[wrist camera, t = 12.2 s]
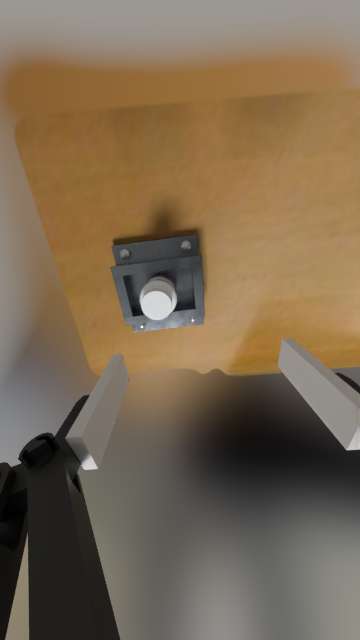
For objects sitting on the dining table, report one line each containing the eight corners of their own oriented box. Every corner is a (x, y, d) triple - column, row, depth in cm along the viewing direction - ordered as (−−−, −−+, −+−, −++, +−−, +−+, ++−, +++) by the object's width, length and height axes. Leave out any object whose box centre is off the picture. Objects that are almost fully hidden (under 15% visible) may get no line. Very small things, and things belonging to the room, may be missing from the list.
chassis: (113, 245, 28) (104, 246, 25) (196, 234, 28) (199, 233, 25) (134, 330, 35) (130, 340, 31) (202, 321, 35) (206, 331, 31)
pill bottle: (165, 308, 32) (162, 332, 23) (140, 292, 31) (127, 311, 22) (182, 284, 30) (185, 300, 22) (156, 267, 29) (149, 276, 20)
